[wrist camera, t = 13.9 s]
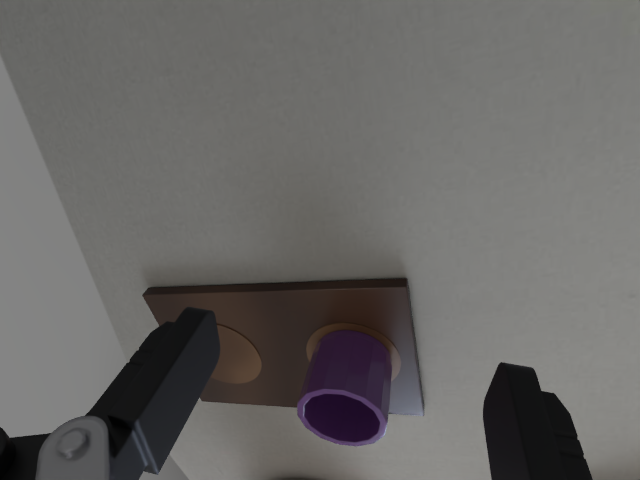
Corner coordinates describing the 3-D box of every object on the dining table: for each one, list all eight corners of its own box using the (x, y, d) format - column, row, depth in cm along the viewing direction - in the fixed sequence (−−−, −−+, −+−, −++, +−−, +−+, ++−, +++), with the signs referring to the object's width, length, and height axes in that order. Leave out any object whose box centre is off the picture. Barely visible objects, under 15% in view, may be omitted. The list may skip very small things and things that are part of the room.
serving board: (206, 393, 41) (201, 402, 40) (148, 287, 34) (140, 295, 33) (424, 406, 34) (424, 417, 33) (407, 277, 27) (406, 287, 26)
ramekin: (299, 343, 32) (279, 401, 27) (364, 319, 29) (353, 380, 24) (342, 391, 34) (330, 451, 29) (408, 373, 31) (404, 437, 26)
